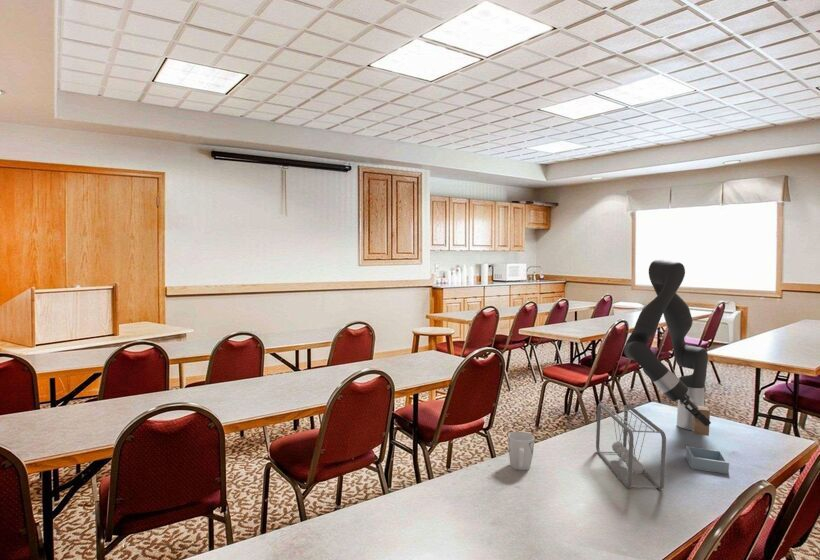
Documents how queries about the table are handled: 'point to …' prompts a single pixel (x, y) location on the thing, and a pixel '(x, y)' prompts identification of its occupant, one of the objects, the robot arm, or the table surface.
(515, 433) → the mug
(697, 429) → the block
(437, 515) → the table surface
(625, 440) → the newton's cradle
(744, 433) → the table surface
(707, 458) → the tray
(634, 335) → the robot arm
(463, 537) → the table surface
